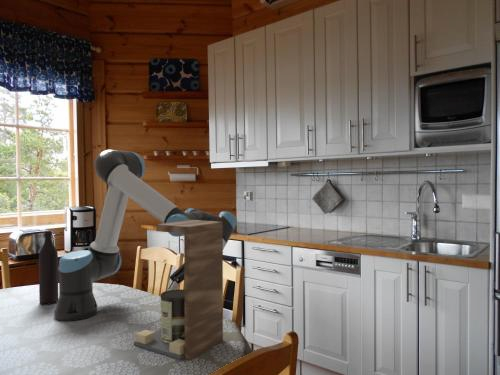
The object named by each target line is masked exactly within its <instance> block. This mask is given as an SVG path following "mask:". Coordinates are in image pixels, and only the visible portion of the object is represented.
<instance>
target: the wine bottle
mask: <svg viewBox="0 0 500 375" xmlns="http://www.w3.org/2000/svg"><path fill="white" fill-rule="evenodd" d="M43 235H44V243H43V245H42V246H41V249H40V251H39V254H38V255H39V256H38V275H39V276H38V278H39V279H38V282H39V283H38V285H39V287H38V288H39V304H41V305H52V304H55V303H56V304H57V302H58V299H59V257H58V255H59V254H58V250H57V248H56V246H55V245H54V243H53V240H52V236H53V231H52V230H44V233H43Z"/></svg>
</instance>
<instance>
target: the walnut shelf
mask: <svg viewBox="0 0 500 375" xmlns="http://www.w3.org/2000/svg"><path fill="white" fill-rule="evenodd" d="M155 226H156V228H155V229H156V232H164V233H168V232H173V233H183V234H184V236H183V239H184V240H183V241H184V242H183V243H184V244H183V245H184V246H183V248H184V250H183V252H184V253H183V254H184V256H183V259H184V261H183V264H184V280H183V282H184V284H183V285H184V288H183V290H185V357H184V359H186V360H192V359H194V358H196V357H197V356H199V355H200V354H203V353H205V352H206V351H207V350H209V349H210V348H212V347H214V346H216V345H218V344H219V343H220V342H223V340H224V322H223V321H224V320H223V319H224V304H223V303H224V302H223V301H224V295H223V294H224V285H223V284H224V279H223V278H224V276H223V275H224V269H223V268H224V267H223V266H224V263H223V262H224V261H223V258H224V257H223V256H224V254H223V253H224V252H223V251H224V249H223V222H217V221H203V220H185V221H178V222H170V223H158V224H156V225H155Z"/></svg>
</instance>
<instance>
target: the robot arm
mask: <svg viewBox="0 0 500 375" xmlns="http://www.w3.org/2000/svg"><path fill="white" fill-rule="evenodd" d="M93 166H94V171H95V173H96V176H98V178H99V179H100V180H102V181H103V182H104V183H105V184H106V185H107V186H108V188H107V192H106V196H105V199H104V204H103V207H102V208H103V209H102V211H101V215H100V219H99V224H98V228H97V232H96V237H95V240H94V241H92V242H91V243H90V244H89V248H88V250H87V249H86V250H83V249H82V250H76V251H70V252H67V253H65V254H63V255H62V256H61V257H60V258H59V259H58V302H56V305H55V308H54V315H53V316H54V318H55V319H56V320H58V321H64V322H67V321H79V320H84V319H88V318H91V317H93V316H95V315H96V314H97V313H98V310H99V309H98V306H99V305H98V303H97V301H96V298H95V295H94V291H93V284H94V283H93V282H96V281H99V280H102V279H106V278H109V277H111V276H112V275H115V274H116V273H117V272H118V271H119V270H120V269H121V266H122V256H121V252H120V247H119V246H118V241H119V238H120V233H121V230H122V225H123V221H124V216H125V213H126V210H127V209H126V208H127V206H128V203H129V198H130V199H131V200H132V201H134V202H135V203H136V204H138V205H139V206H140V207H141V208H143V209H144V210H145V211H147V212H148V213H149V214H151V215H152V216H153V217H154V218H155V219H157V220H158V221H160V222H161V224H163V223H170V222H178V221H185V220H203V221H217V222H223V250H224V249H225V247H226V246H227V243H228V241H229V240H230V238H231V236H232V234H233V233H234V231H235V229H236V226H237V224H238V219H237V217H236V216H235V215H234V214H233V213H232V212H230V211H221V212H219V214H218V215H216V214H212V213H209V212H205V211H202V210H200V209H197V208H192V207H189V208H187V209H186V210H185V211H184V210H183V209H181V208H180V207H178V205H176V204H174V202H172V201H170V200H169V199H167V198H166V197H165V196H164V195H163V194H161V193H160V192H158V191H157V190H156V189H154V188H153V187H152V186H150V185H149V184H148V183H146V181H143V180H142V179H141V178H142V177H143V176H144V175H145V172H146V164H145V161H144V159H143V158H142V156H141V155H140V154H138V153H136V152H133V151H130V150H118V149H106V150H103V151H101V152H100V153H99V154H98V155H97V156H96V158H95V160H94V164H93ZM167 233H168V234H169V235H171V236H172V237H176V238H178V237H184V234H183V233H173V232H167ZM169 279H170V280H171V283H170V285H169V287H168V288H167V291H169V290H179V289H180V288H179V287H180V284H181V283H182V282H184V263H182V264H181V265H180V266H179V267H178V268H177V269H175V271H174V272H173V273H172V274H171V275H170V276H169Z"/></svg>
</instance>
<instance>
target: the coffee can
mask: <svg viewBox="0 0 500 375" xmlns="http://www.w3.org/2000/svg"><path fill="white" fill-rule="evenodd" d="M159 297H160V330H161V340H162V341H163V342H165V343H171V342H173V341H175V340H177V339H181V340H185V290H184V289H177V290H165V291H163V292H161V293H160V296H159Z"/></svg>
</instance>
